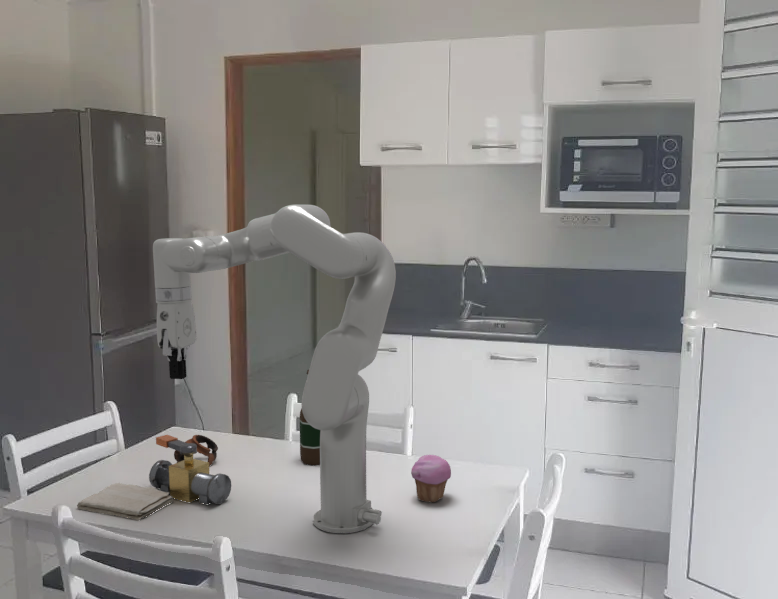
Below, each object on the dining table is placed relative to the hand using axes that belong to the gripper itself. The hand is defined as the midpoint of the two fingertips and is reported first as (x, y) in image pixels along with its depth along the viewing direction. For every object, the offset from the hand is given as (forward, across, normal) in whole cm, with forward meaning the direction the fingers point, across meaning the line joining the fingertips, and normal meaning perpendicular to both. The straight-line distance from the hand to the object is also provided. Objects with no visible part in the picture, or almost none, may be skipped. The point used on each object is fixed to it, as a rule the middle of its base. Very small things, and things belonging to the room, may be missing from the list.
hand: (178, 378), depth 168 cm
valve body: (+28, +2, 0) cm, 28 cm away
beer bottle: (+28, +31, -21) cm, 47 cm away
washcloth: (+28, -5, +11) cm, 31 cm away
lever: (+17, +4, +4) cm, 18 cm away
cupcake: (+29, +10, -54) cm, 62 cm away
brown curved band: (+28, +22, +8) cm, 37 cm away
